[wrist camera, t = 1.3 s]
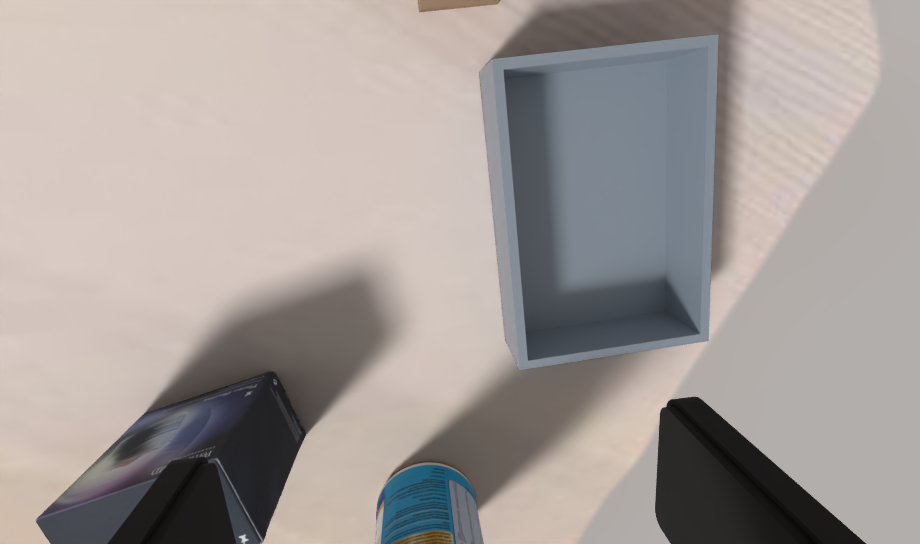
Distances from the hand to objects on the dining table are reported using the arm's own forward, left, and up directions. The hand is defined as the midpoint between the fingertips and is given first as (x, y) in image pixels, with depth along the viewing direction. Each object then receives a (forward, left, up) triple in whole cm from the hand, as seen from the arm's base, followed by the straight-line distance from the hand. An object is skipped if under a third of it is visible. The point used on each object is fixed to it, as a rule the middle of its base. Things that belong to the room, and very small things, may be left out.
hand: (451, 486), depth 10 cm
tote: (-1, +12, -24) cm, 27 cm away
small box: (+12, -17, -25) cm, 32 cm away
